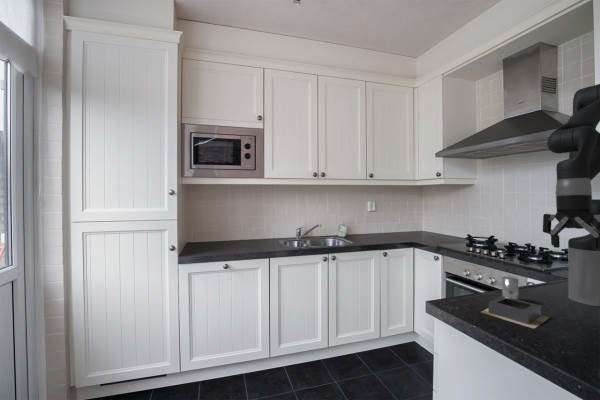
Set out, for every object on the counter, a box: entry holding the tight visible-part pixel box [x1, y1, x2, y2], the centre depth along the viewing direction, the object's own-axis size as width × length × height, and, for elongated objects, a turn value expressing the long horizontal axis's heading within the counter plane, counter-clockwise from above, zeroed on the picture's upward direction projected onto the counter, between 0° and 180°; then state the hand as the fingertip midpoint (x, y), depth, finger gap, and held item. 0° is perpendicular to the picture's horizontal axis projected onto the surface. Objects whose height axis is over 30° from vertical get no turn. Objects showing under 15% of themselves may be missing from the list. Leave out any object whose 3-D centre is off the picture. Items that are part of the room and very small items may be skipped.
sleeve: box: [487, 295, 542, 325], centre depth 75 cm, size 9×9×3 cm
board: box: [480, 307, 550, 329], centre depth 75 cm, size 12×12×1 cm
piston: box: [501, 276, 519, 300], centre depth 86 cm, size 4×4×8 cm
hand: (575, 249), depth 80 cm, fingers open, 8 cm apart
